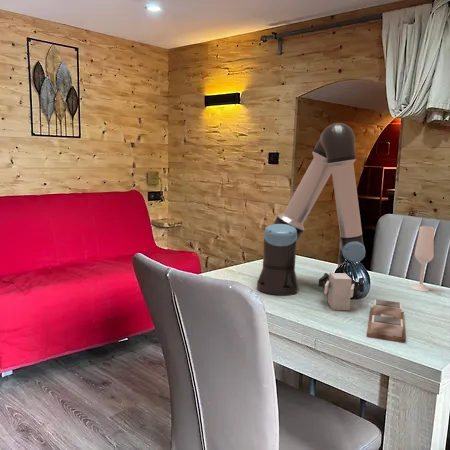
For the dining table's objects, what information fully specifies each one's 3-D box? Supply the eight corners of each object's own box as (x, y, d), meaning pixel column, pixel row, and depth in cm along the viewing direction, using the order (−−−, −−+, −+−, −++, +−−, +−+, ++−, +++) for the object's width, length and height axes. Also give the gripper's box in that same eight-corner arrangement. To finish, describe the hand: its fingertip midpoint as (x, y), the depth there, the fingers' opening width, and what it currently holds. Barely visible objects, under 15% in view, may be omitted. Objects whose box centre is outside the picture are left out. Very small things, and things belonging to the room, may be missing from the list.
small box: (349, 311, 145) (352, 279, 143) (332, 310, 145) (334, 278, 143) (344, 303, 153) (346, 272, 151) (327, 302, 153) (329, 272, 151)
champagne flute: (407, 287, 175) (413, 226, 171) (417, 285, 179) (423, 225, 175) (424, 292, 169) (430, 229, 166) (433, 289, 173) (440, 227, 170)
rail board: (366, 336, 124) (367, 321, 123) (370, 310, 146) (371, 297, 146) (405, 342, 121) (407, 327, 120) (403, 314, 143) (404, 301, 142)
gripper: (373, 288, 162) (370, 307, 140) (316, 281, 168) (305, 298, 147) (375, 268, 161) (372, 284, 139) (318, 261, 167) (307, 276, 146)
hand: (338, 291), depth 143 cm, fingers closed on small box, 7 cm apart
